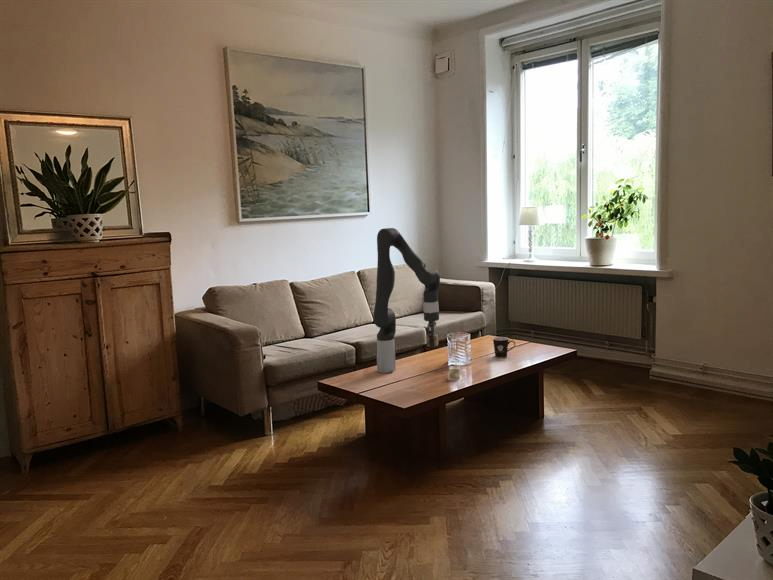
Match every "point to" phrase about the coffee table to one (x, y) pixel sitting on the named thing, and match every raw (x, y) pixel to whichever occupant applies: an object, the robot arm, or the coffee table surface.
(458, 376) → the birch base cube
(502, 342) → the coffee mug
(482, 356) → the coffee table surface
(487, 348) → the coffee table surface
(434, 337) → the walnut cube
